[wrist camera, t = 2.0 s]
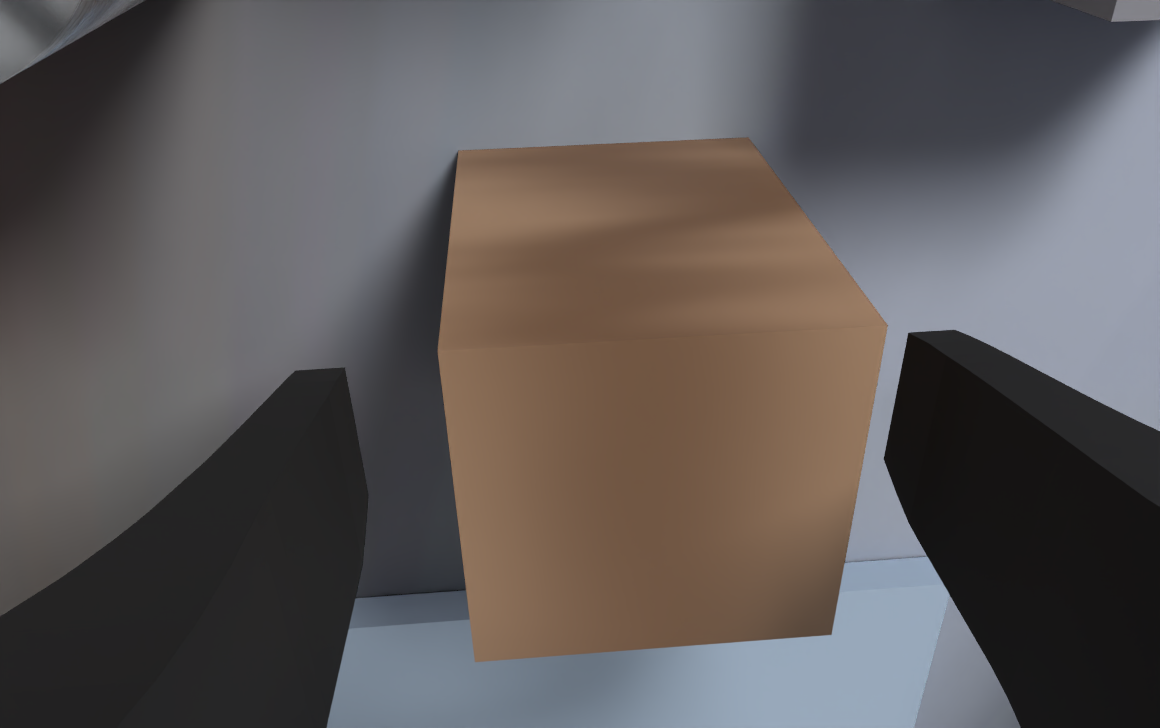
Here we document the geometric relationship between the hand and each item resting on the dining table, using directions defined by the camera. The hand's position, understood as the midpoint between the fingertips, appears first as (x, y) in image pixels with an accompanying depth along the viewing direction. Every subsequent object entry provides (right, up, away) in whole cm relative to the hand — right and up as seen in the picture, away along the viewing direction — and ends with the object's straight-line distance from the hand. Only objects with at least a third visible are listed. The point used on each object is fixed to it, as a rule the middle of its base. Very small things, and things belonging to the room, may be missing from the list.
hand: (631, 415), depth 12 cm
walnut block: (0, +2, +4) cm, 4 cm away
